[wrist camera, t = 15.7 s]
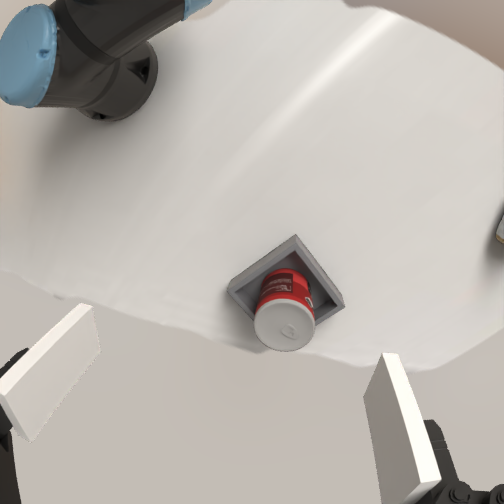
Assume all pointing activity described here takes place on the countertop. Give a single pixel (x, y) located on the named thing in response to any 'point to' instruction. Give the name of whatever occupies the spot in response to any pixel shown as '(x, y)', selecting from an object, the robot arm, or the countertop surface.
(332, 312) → the tray
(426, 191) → the countertop surface
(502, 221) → the ceramic mug
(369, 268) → the countertop surface
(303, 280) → the canned food
